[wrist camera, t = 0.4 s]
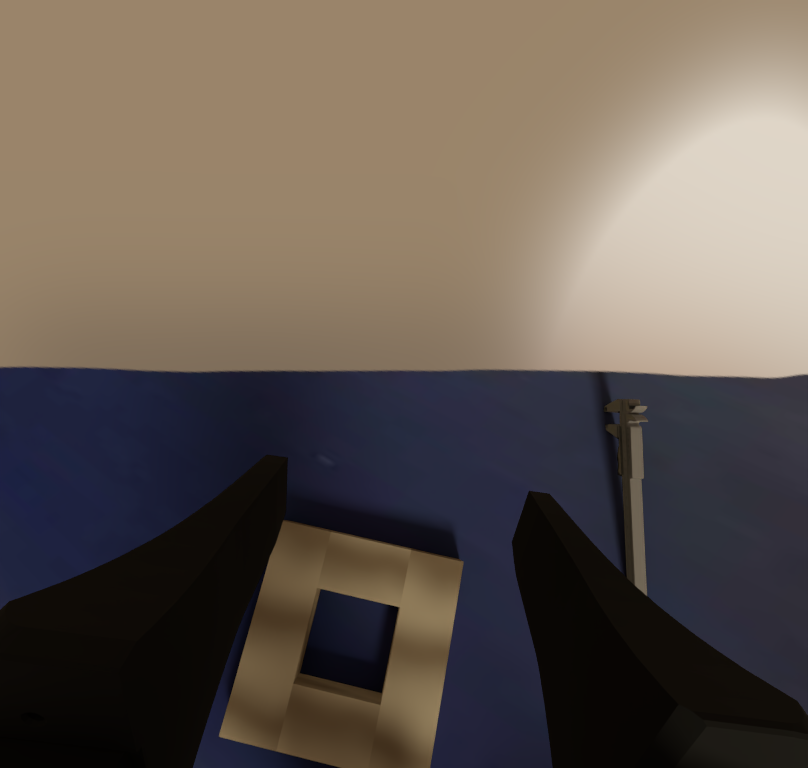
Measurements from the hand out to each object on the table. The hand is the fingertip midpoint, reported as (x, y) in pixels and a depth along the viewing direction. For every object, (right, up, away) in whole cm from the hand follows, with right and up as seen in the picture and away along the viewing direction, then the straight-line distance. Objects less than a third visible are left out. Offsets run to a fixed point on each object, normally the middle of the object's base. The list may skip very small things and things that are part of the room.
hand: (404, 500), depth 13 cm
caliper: (+20, -9, +28) cm, 36 cm away
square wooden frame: (-5, -18, +25) cm, 31 cm away
